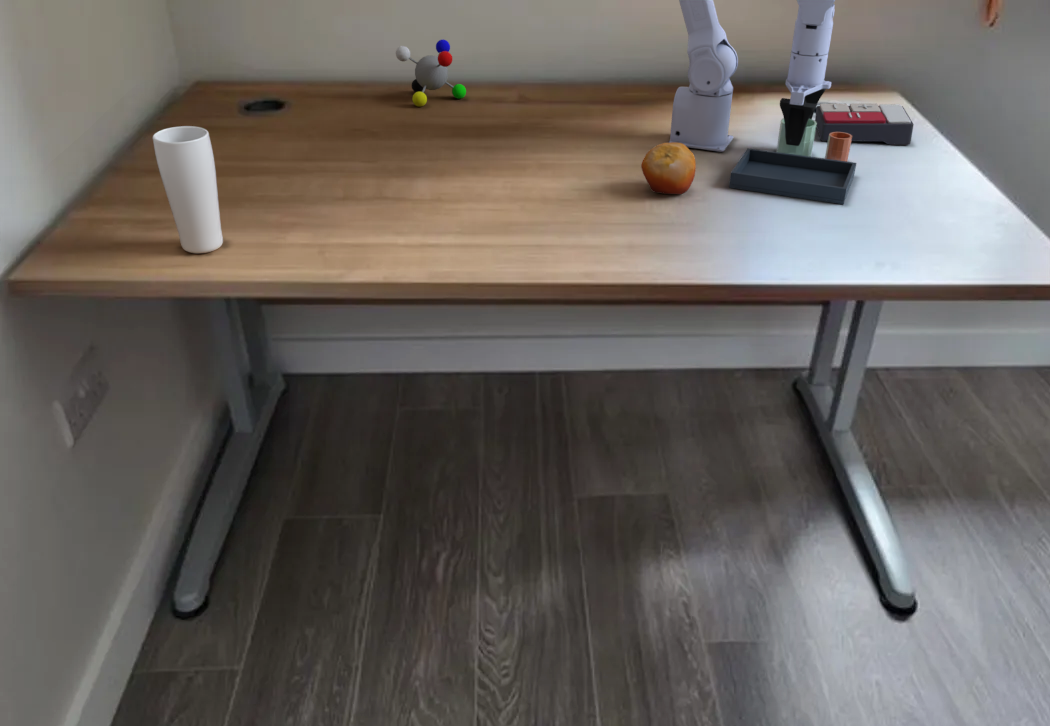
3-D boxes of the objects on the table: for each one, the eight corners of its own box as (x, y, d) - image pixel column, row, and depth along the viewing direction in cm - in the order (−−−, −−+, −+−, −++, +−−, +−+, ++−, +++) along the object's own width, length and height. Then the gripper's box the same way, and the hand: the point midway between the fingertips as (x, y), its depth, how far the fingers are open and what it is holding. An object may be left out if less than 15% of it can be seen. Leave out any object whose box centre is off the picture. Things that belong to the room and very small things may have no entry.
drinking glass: (182, 236, 131) (159, 125, 123) (234, 235, 132) (214, 125, 123) (170, 258, 126) (145, 143, 117) (224, 256, 126) (202, 142, 118)
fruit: (702, 171, 150) (701, 135, 143) (690, 212, 147) (688, 178, 140) (651, 165, 153) (647, 129, 145) (638, 205, 149) (634, 170, 142)
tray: (728, 187, 149) (730, 172, 148) (745, 162, 158) (747, 148, 157) (843, 204, 144) (846, 189, 143) (853, 177, 153) (856, 162, 152)
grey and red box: (816, 101, 175) (903, 101, 173) (814, 125, 177) (899, 125, 175) (823, 119, 166) (915, 119, 164) (820, 144, 168) (910, 145, 166)
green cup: (773, 157, 160) (778, 124, 157) (779, 147, 165) (784, 114, 162) (808, 162, 159) (813, 129, 156) (813, 151, 163) (819, 119, 160)
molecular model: (389, 104, 182) (385, 49, 177) (422, 87, 192) (419, 34, 186) (443, 112, 179) (441, 57, 173) (474, 94, 188) (473, 41, 183)
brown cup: (822, 164, 158) (827, 137, 156) (826, 157, 161) (830, 130, 158) (845, 167, 157) (850, 140, 155) (848, 160, 160) (853, 133, 157)
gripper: (829, 65, 146) (814, 154, 153) (842, 44, 157) (827, 127, 165) (781, 60, 148) (769, 148, 155) (798, 39, 159) (786, 122, 167)
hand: (796, 137), depth 160 cm, fingers open, 7 cm apart
